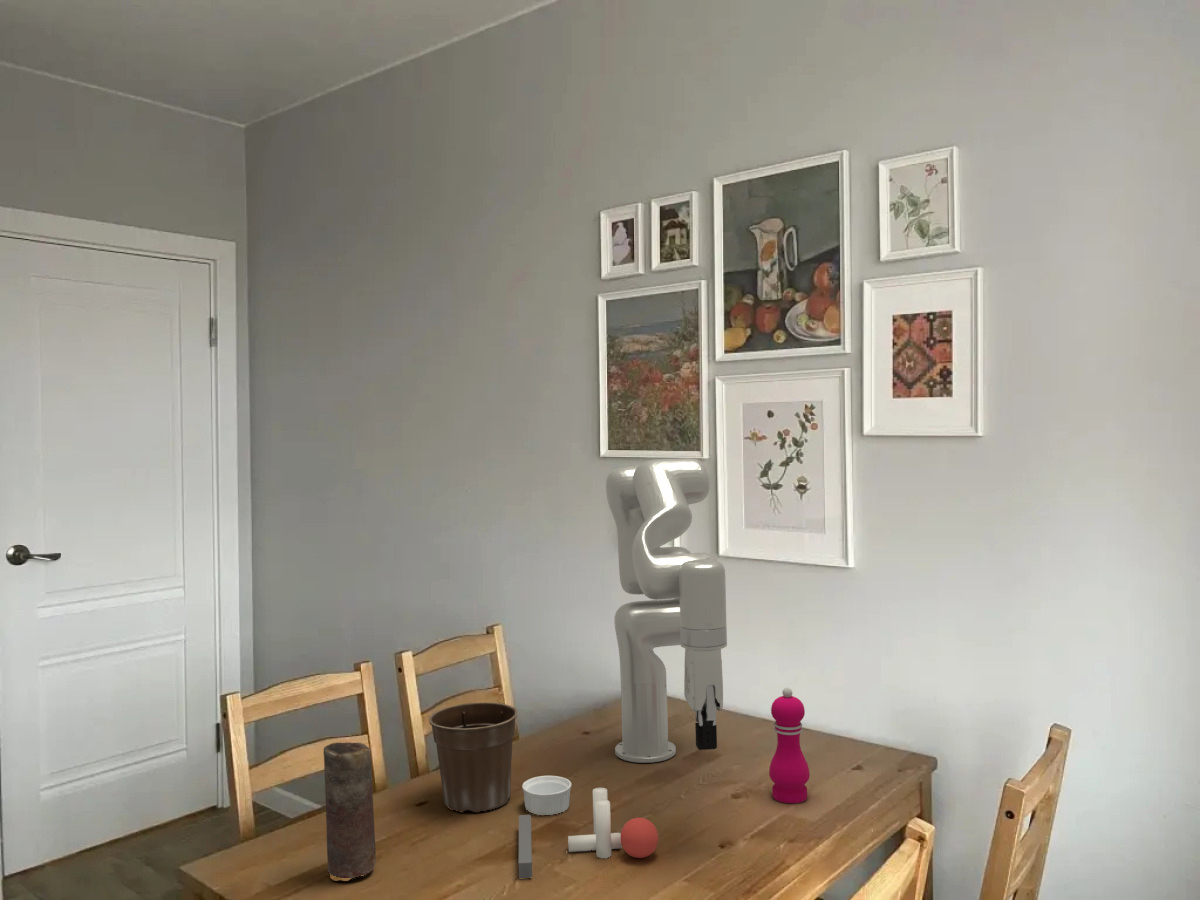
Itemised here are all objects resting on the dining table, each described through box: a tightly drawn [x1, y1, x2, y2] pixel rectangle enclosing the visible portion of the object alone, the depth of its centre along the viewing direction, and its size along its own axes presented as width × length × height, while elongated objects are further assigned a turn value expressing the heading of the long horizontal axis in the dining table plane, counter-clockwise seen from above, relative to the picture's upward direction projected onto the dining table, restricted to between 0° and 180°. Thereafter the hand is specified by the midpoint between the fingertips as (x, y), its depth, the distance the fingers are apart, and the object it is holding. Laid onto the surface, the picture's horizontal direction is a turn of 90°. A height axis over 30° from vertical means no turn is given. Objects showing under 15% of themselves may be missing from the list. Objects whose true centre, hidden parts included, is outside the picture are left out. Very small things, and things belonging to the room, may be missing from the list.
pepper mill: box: [768, 687, 811, 804], centre depth 176 cm, size 7×7×20 cm
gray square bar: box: [518, 814, 533, 879], centre depth 157 cm, size 18×2×2 cm, turn 5°
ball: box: [620, 817, 659, 859], centre depth 154 cm, size 6×6×6 cm
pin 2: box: [595, 799, 612, 859], centre depth 155 cm, size 2×2×8 cm
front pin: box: [567, 832, 623, 853], centre depth 158 cm, size 2×2×8 cm
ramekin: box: [521, 775, 572, 816], centre depth 175 cm, size 9×9×4 cm
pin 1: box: [592, 787, 608, 834], centre depth 160 cm, size 2×2×8 cm
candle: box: [323, 742, 377, 878], centre depth 151 cm, size 8×7×20 cm
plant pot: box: [428, 701, 518, 813], centre depth 179 cm, size 16×16×16 cm
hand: (706, 747), depth 159 cm, fingers closed
